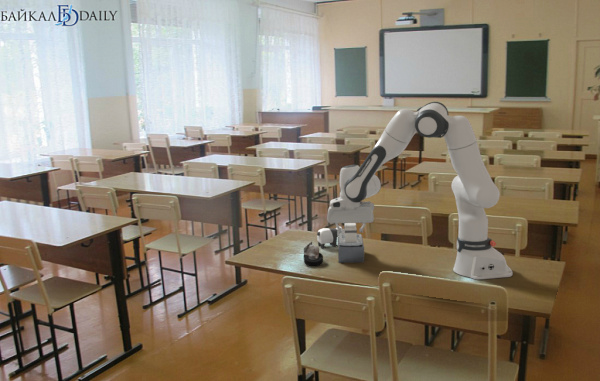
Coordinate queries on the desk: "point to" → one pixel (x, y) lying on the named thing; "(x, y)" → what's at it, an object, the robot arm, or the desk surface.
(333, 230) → the giant panda
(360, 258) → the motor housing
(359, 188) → the robot arm
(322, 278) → the desk surface
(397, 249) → the desk surface
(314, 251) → the black based translucent ornament
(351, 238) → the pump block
